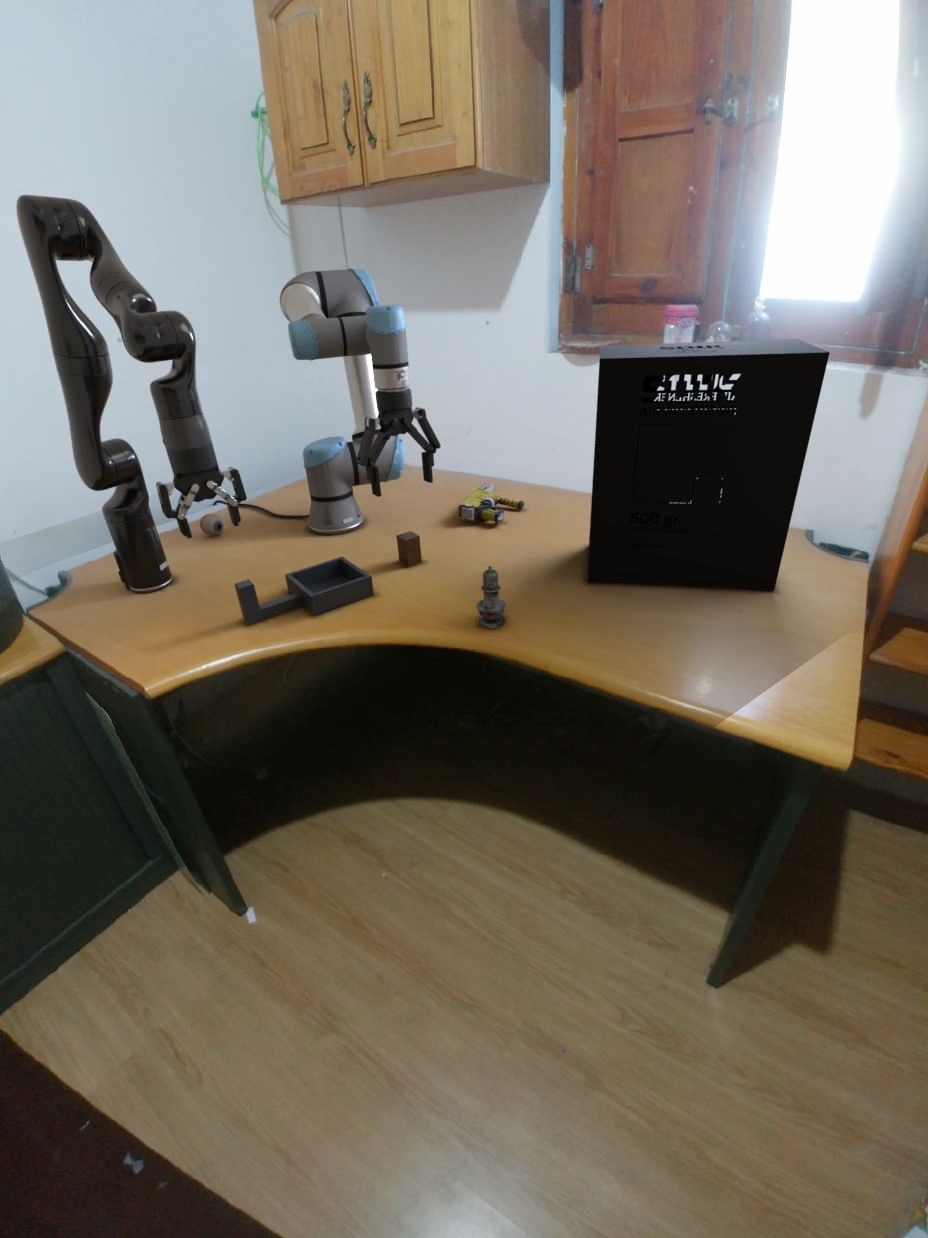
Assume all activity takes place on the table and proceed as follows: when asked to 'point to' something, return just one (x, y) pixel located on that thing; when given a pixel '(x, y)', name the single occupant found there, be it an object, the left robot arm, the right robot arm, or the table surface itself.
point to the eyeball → (211, 524)
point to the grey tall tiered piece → (491, 601)
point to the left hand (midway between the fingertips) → (212, 530)
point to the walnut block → (409, 549)
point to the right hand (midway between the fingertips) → (403, 488)
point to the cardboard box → (699, 461)
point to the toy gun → (486, 505)
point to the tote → (309, 590)
